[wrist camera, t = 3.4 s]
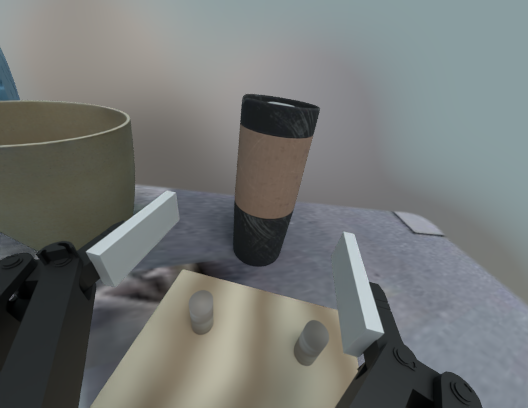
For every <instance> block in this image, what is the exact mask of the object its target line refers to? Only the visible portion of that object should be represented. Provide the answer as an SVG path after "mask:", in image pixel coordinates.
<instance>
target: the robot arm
mask: <svg viewBox="0 0 528 408" xmlns="http://www.w3.org/2000/svg"><path fill="white" fill-rule="evenodd" d="M12 100H20V98H19V95H18V92H17V89H16V86H15V82H14V80H13V77H12V74H11V72H10V69H9V66H8V64H7V61H6V59H5V57H4V54H3V52H2V50H1V48H0V101H12ZM179 220H180V219H179V212H178V205H177V197H176V193H175V192H171V191H166V192H164V193H163V194H162V195H160V196H159V197H158V198H156V199H155V200H154V201H153V202H151V203H150V204H149V205H147V206H146V207H145V208H143V209H142V210H141V211H139V212H138V213H137V214H135V215H134V216H133V217H131V218H130V219H129V220H127V221H124V220H122V221H120V222H118V223H115V224H113V225H112V226H111V227H109V228H108V229H106V231H104V232H102V233H101V234H100V235H98V236H97V237H95V238H94V239H93V240H91V241H90V242H88V243H87V244H86V245H84V246H83V247H81V248H80V249H79V250H76V249H75V247H74V245H73V244H72V243H71V242H69V241H59V242H55V243H52V244H49V245H47V246H45V247H44V248H42V249H41V250H39V252H38V253H37V254H36V255H37V256H38V258H39V259H40V260H35V259H34V258H33V256H32V255H31V254H29V253H19V254H14V255H11V256H8V257H6V258H4V259H2V260H0V408H78V406H79V399H80V392H81V386H82V379H83V372H84V366H85V359H86V352H87V346H88V339H89V332H90V326H91V319H92V313H93V306H94V299H95V293H96V283H95V282H96V281H97V280H98V279H101V281H102V282H103V284H105V285H108V286H112V287H116V286H117V285H118V284H119V283H120V282H121V281H122V280H123V279H124V278H125V277H126V276H127V275H128V274H129V273H130V272H131V271H132V269H133V268H134V267H135V266H136V265H137V264H138V263H139V262H140V261H141V260H142V259H143V258H144V257H145V256H146V255H147V254H148V253H149V252H150V251H151V249H152V248H153V247H154V246H155V245H156V244H157V243H158V242H159V241H160V240H161V239H162V238H163V237H164V236H165V235H166V234H167V233H168V232H169V231H170V229H171V228H172V227H173V226H174V225H175V224H176V223H177V222H178V221H179ZM331 261H332V269H333V277H334V284H335V292H336V300H337V307H338V315H339V323H340V331H341V338H342V346H343V353H345V354H348V355H352V356H355V357H359V356H360V355H362V354H364V359H365V363H363V364H362V365H361V366H360V367H359V368H358V369H357V370H358V372H357V374H356V376H355V377H354V379H353V380H352V382H351V383H350V385H349V386H348V388H347V389H346V391H345V393H344V394H343V396H342V397H341V399H340V400H339V402H338V403H337V405H336V407H335V408H482V405H481V402H480V399H479V398H478V396H477V395H476V393H475V391H474V390H473V389H472V388H471V387H470V385H469V384H468V383H467V382H466V381H464V380H463V379H462V378H461V377H460V376H458V375H456V374H454V373H452V372H444V373H442V374H439V373H438V372H436V371H434V370H433V369H431V368H429V367H428V366H426V365H424V364H423V363H421V362H420V361H418V360H417V359H416V357H415V355H414V354H413V352H412V351H411V350H410V349H409V348H408V347H407V346H406V345H404V344H403V342H402V339H401V337H400V334H399V331H398V328H397V326H396V323H395V320H394V317H393V315H392V312H391V311H390V310H391V309H390V307H389V304H388V301H387V298H386V296H385V293H384V292H383V290H382V289H381V287H380V286H379V285H378V284H375V283H371V282H369V281H368V278H367V275H366V272H365V268H364V265H363V262H362V258H361V255H360V252H359V249H358V245H357V242H356V239H355V235H354V234H351V233H347V232H343V234H342V236H341V238H340V240H339V242H338V244H337V246H336V248H335V250H334V252H333V254H332V256H331ZM13 294H14V295H15V296H14V297H13V298H12V299H11V300H10V301H9V299H10V298H11V296H12V295H13Z"/></svg>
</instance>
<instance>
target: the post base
mask: <svg viewBox="0 0 528 408" xmlns="http://www.w3.org/2000/svg"><path fill="white" fill-rule="evenodd" d="M358 368H359V366H358V361H357V357H355V356H352V355H348V354H345V353H343V346H342V338H341V331H340V323H339V315H338V310H335V309H331V308H327V307H323V306H319V305H316V304H312V303H308V302H304V301H301V300H297V299H293V298H289V297H286V296H282V295H278V294H274V293H270V292H267V291H263V290H259V289H255V288H252V287H248V286H244V285H240V284H236V283H233V282H229V281H225V280H221V279H218V278H214V277H210V276H206V275H203V274H199V273H195V272H191V271H187V270H184V269H183V270H182V271H181V273H180V274H179V276H178V277H177V279H176V280H175V282H174V283H173V285H172V286H171V288H170V289H169V290H168V292H167V293H166V295H165V296H164V298H163V299H162V301H161V302H160V304H159V305H158V307H157V308H156V310H155V311H154V313H153V314H152V316H151V317H150V319H149V320H148V322H147V323H146V325H145V326H144V328H143V329H142V331H141V332H140V333H139V335H138V336H137V338H136V339H135V341H134V342H133V344H132V345H131V347H130V348H129V350H128V351H127V353H126V354H125V356H124V357H123V359H122V360H121V362H120V363H119V365H118V366H117V368H116V369H115V371H114V372H113V374H112V375H111V377H110V378H109V379H108V381H107V382H106V384H105V385H104V387H103V388H102V390H101V391H100V393H99V394H98V396H97V397H96V399H95V400H94V402H93V403H92V405H91V406H90V408H335V407H336V405H337V403H338V402H339V400H340V399H341V397H342V396H343V394H344V393H345V391H346V389H347V388H348V386H349V385H350V383H351V382H352V380H353V379H354V377H355V376H356V374H357V372H358V370H357V369H358Z"/></svg>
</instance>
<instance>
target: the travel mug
mask: <svg viewBox="0 0 528 408" xmlns="http://www.w3.org/2000/svg"><path fill="white" fill-rule="evenodd" d="M319 111H320V108H319V107H317V106H315V105H312V104H309V103H305V102H300V101H296V100H291V99H285V98H280V97H273V96H265V95H256V94H246V95H244V96H243V99H242V109H241V121H240V122H241V123H240V134H239V147H238V148H239V149H238V161H237V175H236V187H235V204H234V252H235V254H236V256H237V257H238V258H239V259H240V260H241V261H243V262H244V263H246V264H248V265H252V266H266V265H269V264H271V263H273V262H274V261H275V260H276V259H277V258H278V256H279V253H280V251H281V248H282V244H283V241H284V238H285V235H286V232H287V229H288V225H289V222H290V219H291V216H292V213H293V210H294V206H295V202H296V199H297V195H298V191H299V187H300V183H301V180H302V176H303V172H304V168H305V164H306V161H307V157H308V153H309V149H310V146H311V142H312V138H313V134H314V130H315V127H316V123H317V119H318V115H319Z"/></svg>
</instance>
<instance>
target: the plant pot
mask: <svg viewBox="0 0 528 408" xmlns="http://www.w3.org/2000/svg"><path fill="white" fill-rule="evenodd" d="M134 196H135V164H134V150H133V139H132V130H131V121H130V117H129V115H128V114H126V113H124V112H122V111H120V110H117V109H113V108H109V107H104V106H99V105H93V104H85V103H75V102H62V101H29V100H24V101H23V100H12V101H0V232H1V233H3V234H5V235H7V236H9V237H11V238H13V239H15V240H17V241H19V242H21V243H23V244H25V245H27V246H29V247H31V248H33V249H35V250H37V251H39V250H41V249H42V248H44V247H45V246H47V245H49V244H52V243H55V242H59V241H69V242H71V243H72V244H73V245H74V247H75V249H76V250H79V249H80V248H81V247H83V246H84V245H86V244H87V243H88V242H90V241H91V240H93V239H94V238H95V237H97V236H98V235H100V234H101V233H102V232H104V231H106V229H108V228H109V227H111V226H112V225H113V224H115V223H118V222H120V221H122V220H124V221H127V220H129V219H130V218H131V217H133V209H134Z"/></svg>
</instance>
